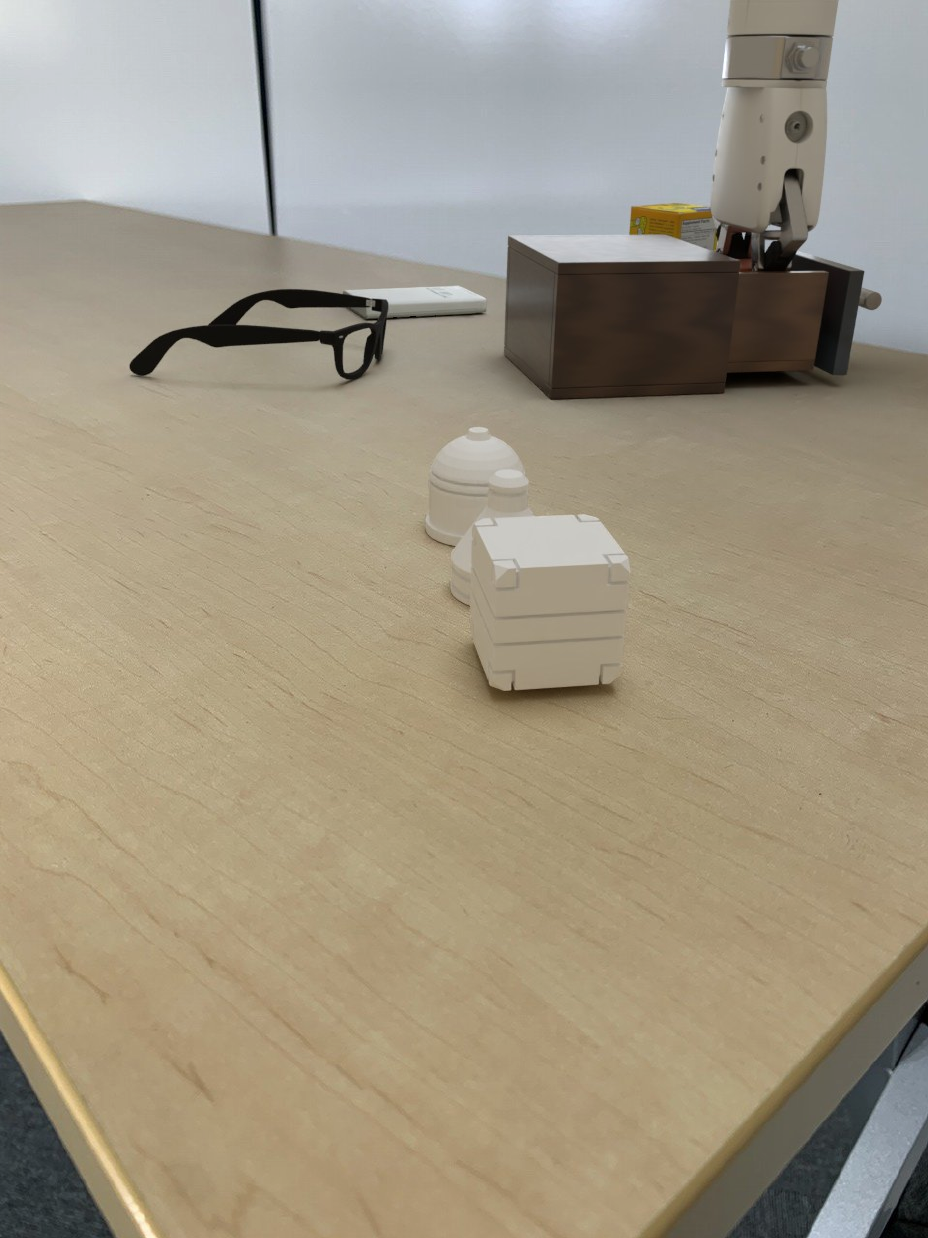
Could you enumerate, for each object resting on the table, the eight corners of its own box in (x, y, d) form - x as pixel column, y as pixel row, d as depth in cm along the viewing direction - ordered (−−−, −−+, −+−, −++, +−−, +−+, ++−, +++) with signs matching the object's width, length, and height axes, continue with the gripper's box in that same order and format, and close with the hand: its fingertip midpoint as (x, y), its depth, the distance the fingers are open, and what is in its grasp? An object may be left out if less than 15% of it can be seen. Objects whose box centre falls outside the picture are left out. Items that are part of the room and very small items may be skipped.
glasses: (348, 405, 81) (349, 336, 78) (123, 377, 83) (118, 310, 81) (404, 356, 95) (406, 297, 93) (211, 333, 98) (209, 275, 96)
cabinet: (655, 350, 96) (666, 234, 92) (724, 393, 83) (741, 260, 79) (503, 354, 93) (507, 235, 89) (551, 399, 80) (558, 262, 76)
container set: (623, 692, 42) (636, 559, 40) (488, 701, 41) (492, 566, 39) (515, 509, 60) (519, 409, 57) (419, 513, 59) (419, 412, 56)
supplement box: (661, 320, 108) (672, 201, 103) (709, 330, 104) (723, 207, 99) (619, 327, 105) (629, 204, 100) (667, 338, 100) (680, 210, 96)
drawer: (812, 337, 98) (827, 245, 94) (896, 373, 86) (916, 269, 82) (634, 341, 94) (642, 246, 91) (695, 380, 83) (707, 272, 79)
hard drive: (342, 305, 112) (457, 299, 116) (366, 320, 105) (486, 313, 109) (342, 288, 111) (457, 283, 115) (366, 303, 104) (487, 296, 108)
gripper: (885, 65, 74) (840, 340, 82) (771, 67, 89) (743, 300, 97) (781, 64, 72) (746, 344, 80) (683, 66, 87) (662, 302, 95)
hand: (745, 317), depth 88 cm, fingers closed on block, 4 cm apart
